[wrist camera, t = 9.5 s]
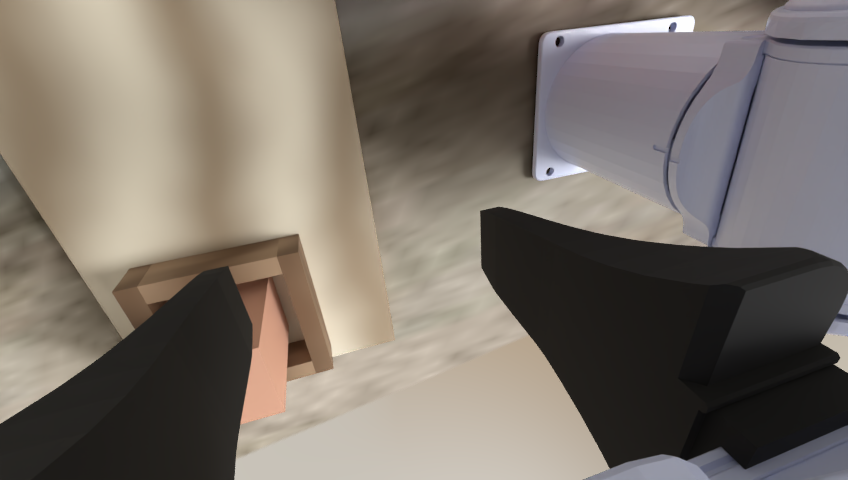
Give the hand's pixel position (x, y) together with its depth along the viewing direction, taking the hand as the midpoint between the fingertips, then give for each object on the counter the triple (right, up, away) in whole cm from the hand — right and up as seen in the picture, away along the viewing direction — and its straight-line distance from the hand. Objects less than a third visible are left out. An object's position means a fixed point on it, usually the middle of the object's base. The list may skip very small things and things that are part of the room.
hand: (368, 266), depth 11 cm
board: (-8, +2, +9) cm, 12 cm away
